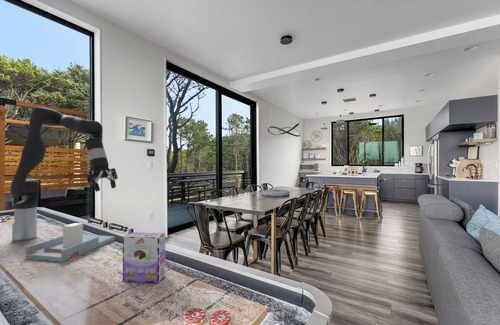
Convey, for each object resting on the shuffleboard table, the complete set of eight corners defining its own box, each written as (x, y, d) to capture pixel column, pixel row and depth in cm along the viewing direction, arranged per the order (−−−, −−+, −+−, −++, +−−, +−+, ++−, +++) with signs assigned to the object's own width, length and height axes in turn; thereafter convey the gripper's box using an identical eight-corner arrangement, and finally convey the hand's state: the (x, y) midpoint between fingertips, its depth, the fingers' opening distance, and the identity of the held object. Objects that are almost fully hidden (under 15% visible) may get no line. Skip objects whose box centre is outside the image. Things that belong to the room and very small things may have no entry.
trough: (62, 262, 100) (62, 250, 100) (25, 258, 104) (25, 247, 104) (114, 240, 130) (114, 231, 130) (84, 237, 133) (84, 229, 133)
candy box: (165, 276, 89) (166, 232, 89) (158, 284, 83) (158, 237, 83) (131, 274, 90) (132, 231, 90) (121, 281, 84) (122, 235, 84)
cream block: (71, 247, 113) (72, 226, 113) (62, 246, 113) (63, 226, 113) (82, 243, 118) (82, 223, 119) (74, 242, 119) (74, 222, 119)
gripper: (106, 159, 126) (113, 188, 126) (78, 161, 113) (87, 193, 112) (115, 155, 124) (123, 185, 123) (88, 157, 110) (97, 190, 110)
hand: (106, 189), depth 118 cm, fingers open, 8 cm apart
